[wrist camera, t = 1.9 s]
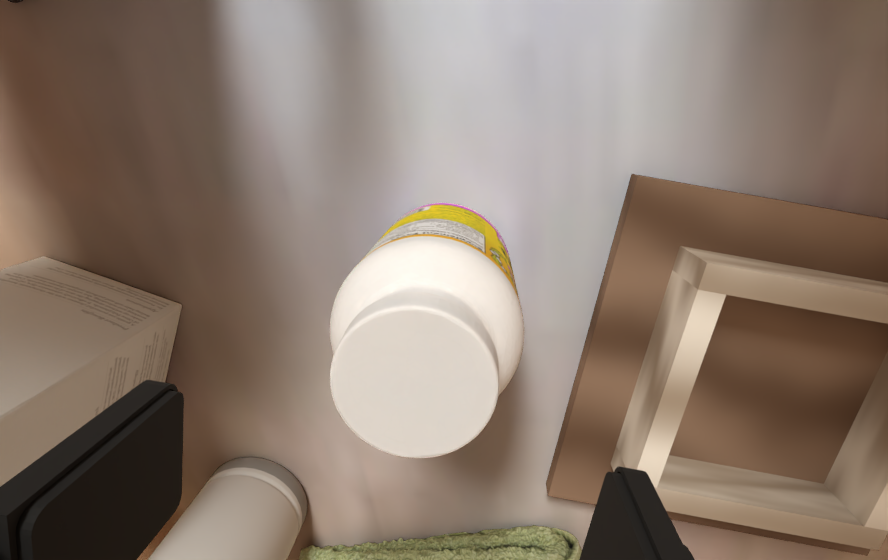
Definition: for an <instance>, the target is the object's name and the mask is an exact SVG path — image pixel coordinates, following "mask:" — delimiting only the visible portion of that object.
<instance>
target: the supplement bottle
mask: <svg viewBox="0 0 888 560" xmlns="http://www.w3.org/2000/svg"><path fill="white" fill-rule="evenodd" d="M330 341H331V347H332V351H333V355H334V356H333V359H332V364H331V369H330V387H331V393H332V397H333V400H334V403H335V406H336V408H337V410H338V412H339V414H340V416H341V418H342V419H343V420H344V422H345V423H346V424H347V426H348V427H349V428H350V429H351V430H352V431H353V432H354V433H355V434H356V435H357V436H358V437H359V438H360V439H362V440H363V441H364V442H366V443H367V444H369V445H370V446H372V447H374V448H376V449H378V450H380V451H383V452H386V453H389V454H392V455H395V456H399V457H406V458H429V457H437V456H441V455H445V454H448V453H451V452H453V451H456V450H458V449H459V448H461V447H463V446H465V445H466V444H468V443H469V442H471V441H472V440H473V439H474V438H475V437H477V436H478V435H479V434H480V433H481V431H482V430H483V429H484V428H485V426H486V425H487V424H488V422H489V420H490V419H491V417H492V415H493V413H494V410H495V407H496V404H497V400H498V396H499V395H500V394H501V392H502V391H503V390H504V389H505V388H506V386H507V385H508V384H509V382H510V380H511V379H512V377H513V375H514V373H515V371H516V369H517V367H518V364H519V361H520V358H521V355H522V350H523V343H524V322H523V315H522V310H521V306H520V302H519V298H518V293H517V289H516V284H515V280H514V275H513V270H512V266H511V262H510V258H509V254H508V251H507V248H506V245H505V243H504V241H503V239H502V237H501V235H500V233H499V232H498V230H497V229H496V228H495V226H494V225H493V224H492V223H491V222H490V221H489V220H488V219H487V218H485V217H484V216H483V215H481V214H480V213H478V212H477V211H475V210H473V209H471V208H468V207H466V206H463V205H459V204H453V203H431V204H427V205H423V206H420V207H418V208H415V209H413V210H411V211H410V212H408V213H406V214H405V215H403V216H402V217H401V218H400V219H398V220H397V221H396V222H395V223H394V224H393V225H392V226H391V227H390V228H389V230H388V231H387V232H386V233H385V234H384V235H383V236H382V238H381V239H380V240H379V241H378V242H377V243H376V244H375V246H374V247H373V248H372V249H371V250H370V251H369V252H368V254H367V255H366V256H365V257H364V258H363V259H362V260H361V261H360V262H359V263H358V264H357V265H356V266H355V268H354V269H353V270H352V271H351V273H350V274H349V275H348V276H347V278H346V279H345V281H344V282H343V284H342V286H341V287H340V289H339V291H338V294H337V296H336V299H335V301H334V305H333V308H332V313H331V319H330Z"/></svg>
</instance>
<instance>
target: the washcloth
mask: <svg viewBox="0 0 888 560" xmlns="http://www.w3.org/2000/svg"><path fill="white" fill-rule="evenodd" d="M581 553H582V550H581V547H580V546H579V542H578V540H577V539H576V538H575V536H573V535H572V534H570V533H569V532H566V531H564V530H560V529H557V528H549V527H544V526H540V527H538V526H535V525H533V526H527V527H514V528H512V529H492V530H483V531H480V532H478V533H475V534H473V533H467V532H461V533H454V534H444V535H441V536H432V537H429V538H426V539H416V538H415V539H414V540H413V539H407V540H406V541H403V539H402V538H399V539H398V541H395V540H392V541H391V542H387V541H383V543H378V544H376V543H369V542H367V543H366V544H365V543H363V544H361V545H354V547H353V546H351V547H346V546H344V545H338V546H334V547H331V546H326V547H324V548H319V547H315V546H314V545H311V546H309V547H307V548H304V549H301V552H300V557H299V560H579V559H580V556H581Z"/></svg>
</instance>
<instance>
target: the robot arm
mask: <svg viewBox="0 0 888 560" xmlns="http://www.w3.org/2000/svg"><path fill="white" fill-rule="evenodd" d="M183 408H184V398H183V394H182V393H181V392H178V391H177V387H176V386H175V385H174V384H170V383H164V382H159V381H153V380H145V381H143V382H142V383H140V384H139V385H138V386H136V387H135V388H134V389H132V390H131V391H130V392H128V393H127V394H125V395H124V396H123V397H121V398H120V399H119V400H117V401H116V402H115V403H113V404H112V405H111V406H109V407H108V408H106V409H105V410H104V411H102V412H101V413H100V414H98V415H97V416H96V417H94V418H93V419H92V420H90V421H89V422H87V423H86V424H85V425H83V426H82V427H81V428H79V429H78V430H77V431H75V432H74V433H73V434H71V435H70V436H68V437H67V438H66V439H64V440H63V441H62V442H60V443H59V444H58V445H56V446H55V447H54V448H52V449H51V450H49V451H48V452H47V453H45V454H44V455H43V456H41V457H40V458H39V459H37V460H36V461H35V462H33V463H32V464H30V465H29V466H28V467H26V468H25V469H24V470H22V471H21V472H20V473H18V474H17V475H16V476H14V477H13V478H11V479H10V480H9V481H7V482H6V483H5V484H3V485H2V486H1V487H0V560H137V558H138V557H139V556H140V555H141V553H142V552H143V551H144V550H145V548H146V547H147V546H148V545H149V543H150V542H151V541H152V540H153V538H154V537H155V536H156V535H157V533H158V532H159V531H160V530H161V528H162V527H163V526H164V525H165V523H166V522H167V521H168V520H169V518H170V517H171V516H172V515H173V514H174V512H175V511H176V509H177V507H178V505H179V502H180V499H181V494H182V453H183ZM579 560H694V558H693V556H692V554H691V552H690V551H689V549H688V548H687V547H686V546H685V545H683V544H682V542H681V540H680V538H679V536H678V534H677V532H676V530H675V528H674V526H673V524H672V522H671V520H670V518H669V516H668V514H667V512H666V510H665V508H664V506H663V504H662V502H661V500H660V498H659V496H658V494H657V492H656V490H655V488H654V486H653V484H652V482H651V480H650V478H649V476H648V474H647V473H646V472H645V471H642V470H636V469H631V468H625V467H620V466H619V467H617V468H616V469H615V471H614V472H607V473H606V475H605V478H604V481H603V484H602V488H601V491H600V494H599V497H598V501H597V504H596V507H595V510H594V514H593V517H592V520H591V523H590V527H589V530H588V533H587V536H586V540H585V543H584V546H583V550H582V553H581V556H580V559H579Z"/></svg>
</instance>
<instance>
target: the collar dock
mask: <svg viewBox="0 0 888 560" xmlns="http://www.w3.org/2000/svg"><path fill="white" fill-rule="evenodd" d="M619 466H620V467H625V468H631V469H636V470H642V471H645V472H646V473H647V474H648V476H649V478H650V480H651V482H652V484H653V486H654V488H655V490H656V492H657V494H658V496H659V498H660V500H661V502H662V504H663V506H664V508H665V510H666V512H667V514H668V516H669V518H670V519H675V520H680V521H686V522H691V523H696V524H702V525H707V526H712V527H718V528H723V529H728V530H734V531H739V532H744V533H749V534H755V535H760V536H765V537H771V538H776V539H781V540H787V541H792V542H797V543H803V544H808V545H813V546H819V547H824V548H829V549H835V550H840V551H845V552H851V553H856V554H861V555H866V556H867V555H868V553H869V551H870V549H872V550H878V551H879V549H880V547H881V546H882V544H883V542H884V540H885V538H886V537H887V535H888V219H885V218H879V217H874V216H868V215H862V214H856V213H851V212H845V211H839V210H834V209H828V208H822V207H817V206H811V205H805V204H800V203H794V202H788V201H782V200H777V199H771V198H765V197H760V196H754V195H748V194H743V193H737V192H731V191H726V190H720V189H714V188H708V187H703V186H697V185H691V184H686V183H680V182H674V181H669V180H663V179H657V178H652V177H646V176H640V175H635V174H632V175H631V178H630V182H629V186H628V189H627V193H626V196H625V200H624V204H623V207H622V211H621V214H620V218H619V222H618V225H617V229H616V233H615V236H614V240H613V243H612V247H611V251H610V254H609V258H608V261H607V265H606V269H605V272H604V276H603V280H602V283H601V287H600V290H599V294H598V298H597V301H596V305H595V308H594V312H593V316H592V319H591V323H590V327H589V330H588V334H587V337H586V341H585V345H584V348H583V352H582V355H581V359H580V363H579V366H578V370H577V374H576V377H575V381H574V384H573V388H572V392H571V395H570V399H569V402H568V406H567V410H566V413H565V417H564V421H563V424H562V428H561V431H560V435H559V439H558V442H557V446H556V449H555V453H554V457H553V460H552V464H551V468H550V471H549V475H548V478H547V482H546V486H547V492H548V496H553V497H558V498H563V499H569V500H574V501H579V502H585V503H590V504H595V505H596V504H597V501H598V497H599V494H600V491H601V488H602V484H603V481H604V478H605V475H606V473H607V472H614V471H615V469H616V468H617V467H619Z"/></svg>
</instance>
